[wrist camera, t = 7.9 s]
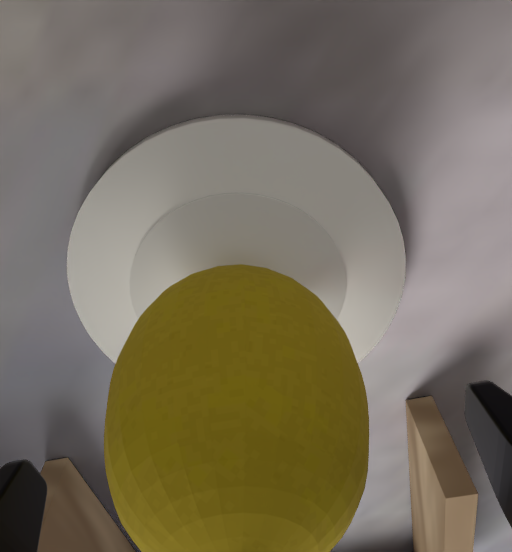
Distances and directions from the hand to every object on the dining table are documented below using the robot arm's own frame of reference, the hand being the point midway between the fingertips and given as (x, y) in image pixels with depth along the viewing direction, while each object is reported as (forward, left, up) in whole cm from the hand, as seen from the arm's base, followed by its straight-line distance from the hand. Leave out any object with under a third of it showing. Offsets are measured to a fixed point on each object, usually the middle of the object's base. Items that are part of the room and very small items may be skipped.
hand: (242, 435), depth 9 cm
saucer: (0, 0, -6) cm, 6 cm away
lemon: (0, 0, -5) cm, 5 cm away
